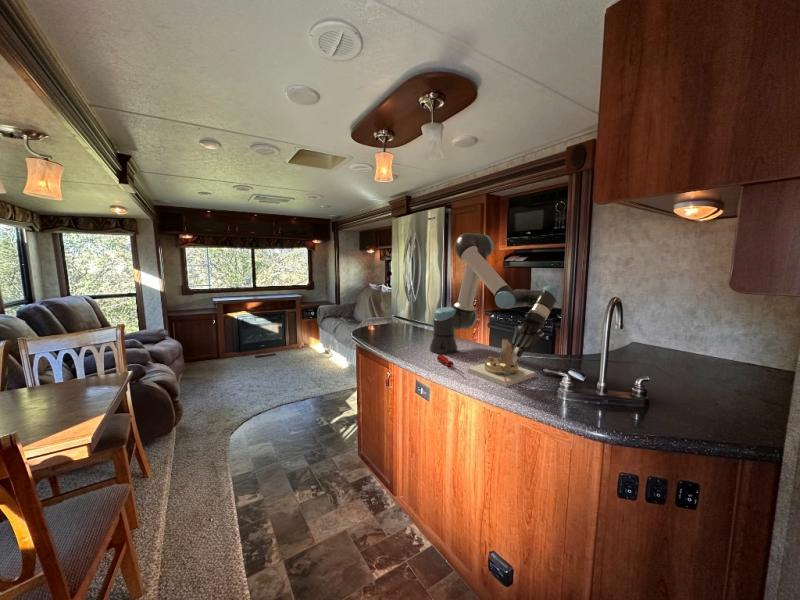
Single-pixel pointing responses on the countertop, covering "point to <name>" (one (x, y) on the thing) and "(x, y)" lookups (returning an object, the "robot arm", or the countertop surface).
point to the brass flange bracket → (502, 361)
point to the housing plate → (502, 379)
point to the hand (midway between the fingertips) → (511, 361)
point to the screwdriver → (446, 362)
